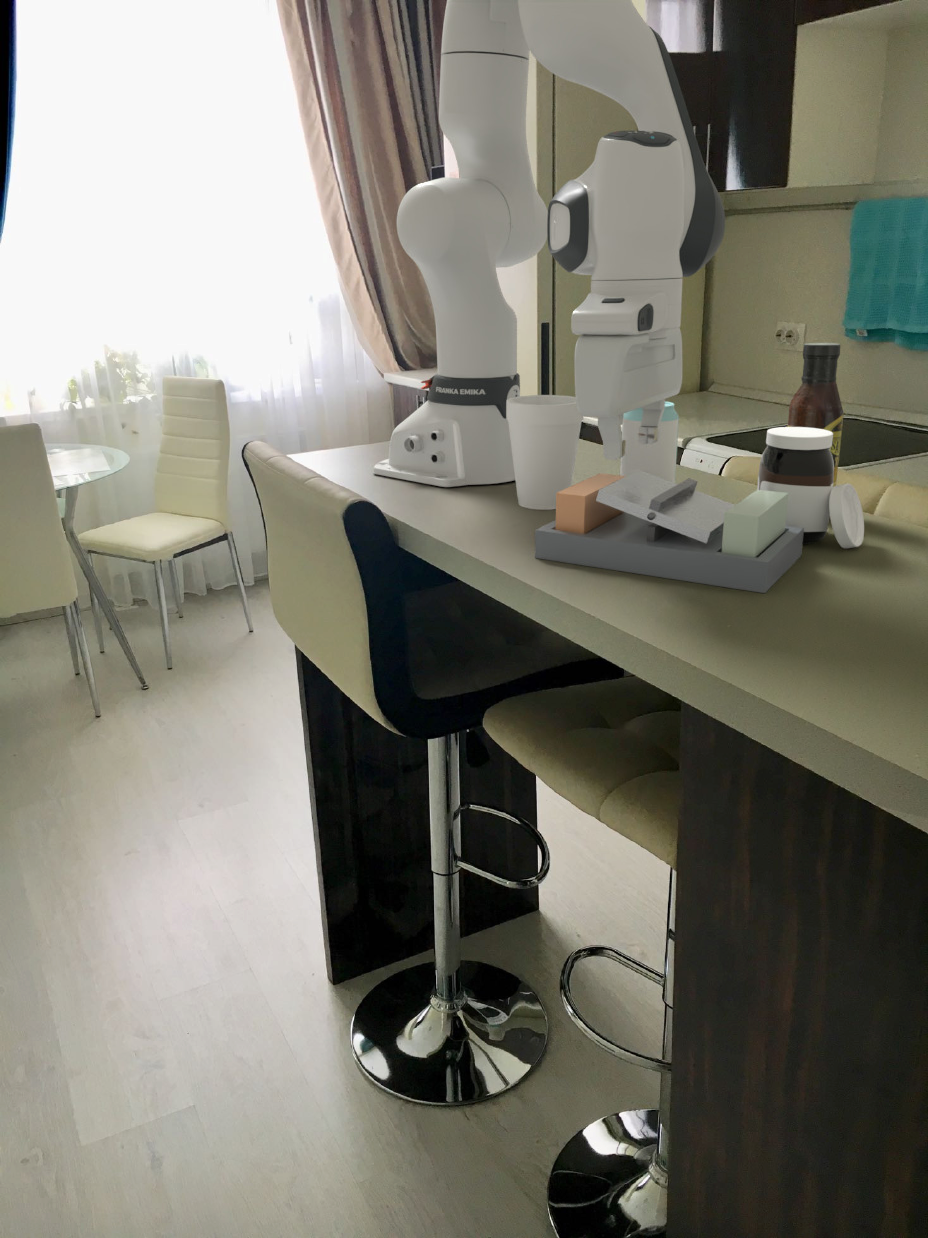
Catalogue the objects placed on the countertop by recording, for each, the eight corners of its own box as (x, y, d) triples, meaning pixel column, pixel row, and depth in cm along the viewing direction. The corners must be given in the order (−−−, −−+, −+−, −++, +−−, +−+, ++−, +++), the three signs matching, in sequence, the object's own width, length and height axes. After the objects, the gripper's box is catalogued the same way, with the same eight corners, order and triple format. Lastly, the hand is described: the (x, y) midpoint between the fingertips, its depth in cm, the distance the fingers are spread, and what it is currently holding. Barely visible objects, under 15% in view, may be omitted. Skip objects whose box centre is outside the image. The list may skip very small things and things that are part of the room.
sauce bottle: (836, 520, 119) (856, 346, 112) (781, 517, 120) (798, 345, 113) (828, 506, 125) (847, 341, 118) (776, 505, 126) (792, 340, 119)
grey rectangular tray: (534, 557, 106) (535, 516, 104) (589, 527, 117) (591, 489, 115) (764, 593, 94) (769, 546, 92) (801, 555, 105) (805, 513, 104)
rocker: (594, 501, 101) (600, 480, 100) (637, 479, 111) (643, 460, 110) (705, 544, 97) (712, 523, 96) (740, 517, 106) (747, 498, 105)
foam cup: (525, 515, 122) (526, 407, 118) (494, 499, 130) (494, 397, 126) (594, 507, 126) (597, 402, 121) (560, 492, 134) (562, 393, 129)
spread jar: (749, 523, 118) (758, 423, 114) (850, 527, 116) (863, 425, 112) (759, 552, 107) (770, 442, 103) (871, 556, 105) (886, 444, 101)
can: (616, 501, 129) (620, 406, 125) (621, 489, 135) (625, 398, 131) (672, 503, 127) (678, 407, 123) (675, 491, 134) (680, 399, 130)
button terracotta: (555, 530, 105) (556, 492, 104) (598, 508, 114) (599, 473, 112) (583, 534, 103) (584, 496, 102) (624, 511, 112) (626, 475, 111)
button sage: (721, 553, 96) (724, 512, 95) (753, 527, 105) (756, 489, 104) (754, 557, 95) (758, 516, 94) (784, 531, 104) (788, 492, 102)
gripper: (643, 305, 109) (639, 433, 114) (562, 316, 93) (562, 465, 97) (700, 305, 106) (694, 436, 111) (627, 315, 90) (623, 470, 94)
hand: (631, 450), depth 104 cm, fingers open, 8 cm apart
